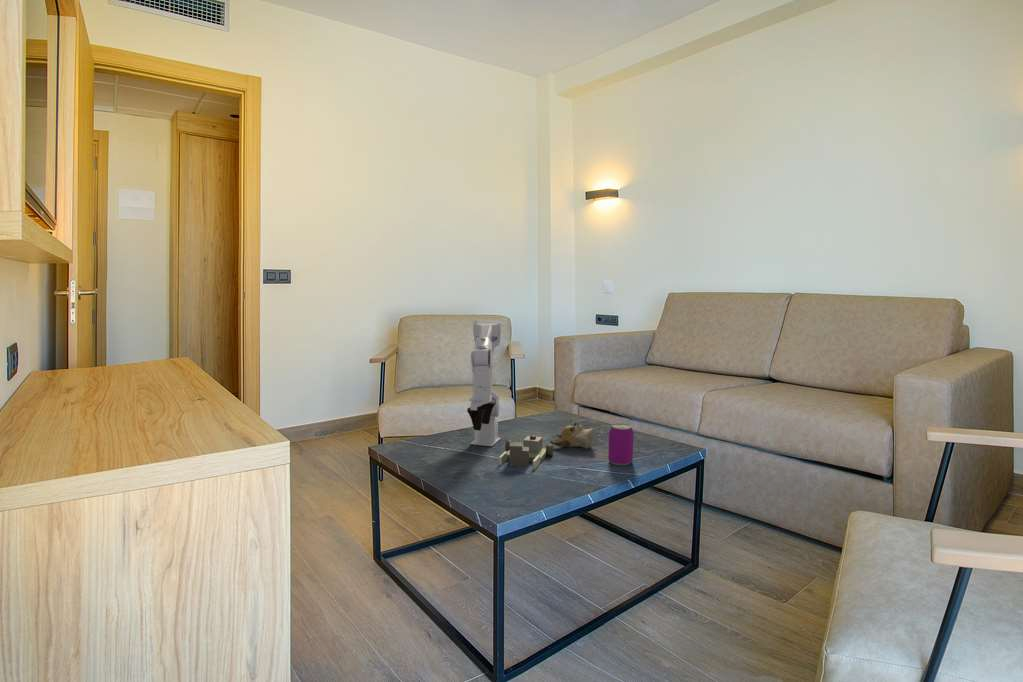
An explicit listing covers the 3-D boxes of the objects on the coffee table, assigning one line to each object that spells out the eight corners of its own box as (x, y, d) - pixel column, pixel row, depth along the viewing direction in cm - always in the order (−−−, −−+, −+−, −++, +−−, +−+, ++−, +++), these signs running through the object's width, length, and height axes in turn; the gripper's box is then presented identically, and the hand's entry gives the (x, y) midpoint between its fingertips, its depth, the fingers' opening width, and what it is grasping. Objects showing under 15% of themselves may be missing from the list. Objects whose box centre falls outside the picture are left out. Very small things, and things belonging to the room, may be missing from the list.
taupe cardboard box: (509, 461, 182) (509, 442, 181) (528, 462, 182) (528, 442, 181) (509, 466, 178) (509, 446, 177) (528, 466, 178) (528, 446, 177)
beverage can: (637, 463, 181) (639, 427, 179) (618, 467, 177) (620, 430, 175) (621, 456, 187) (622, 421, 186) (603, 460, 183) (604, 424, 182)
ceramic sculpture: (592, 427, 190) (548, 426, 194) (593, 453, 190) (549, 450, 195) (597, 420, 200) (556, 418, 204) (598, 444, 200) (557, 442, 205)
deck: (508, 448, 194) (508, 431, 194) (553, 453, 190) (554, 435, 189) (492, 464, 179) (492, 444, 179) (541, 469, 175) (541, 450, 174)
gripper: (478, 380, 192) (478, 420, 194) (461, 389, 178) (461, 431, 180) (497, 382, 190) (497, 421, 192) (482, 391, 176) (482, 433, 178)
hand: (481, 426), depth 186 cm, fingers open, 7 cm apart
